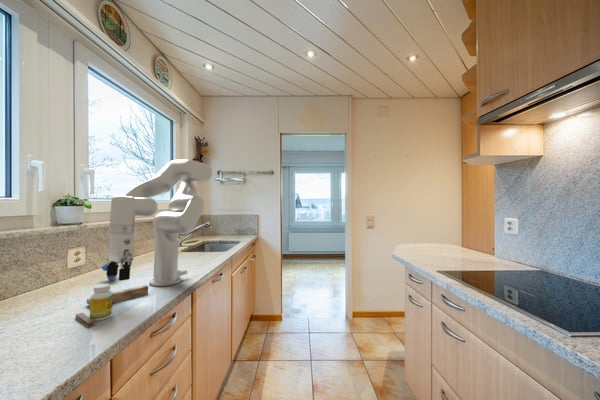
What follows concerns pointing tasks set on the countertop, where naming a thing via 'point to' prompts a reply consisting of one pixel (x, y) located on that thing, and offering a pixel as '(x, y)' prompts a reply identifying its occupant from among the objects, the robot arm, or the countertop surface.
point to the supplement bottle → (101, 302)
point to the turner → (127, 293)
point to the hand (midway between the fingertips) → (117, 277)
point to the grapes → (106, 273)
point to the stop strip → (85, 320)
